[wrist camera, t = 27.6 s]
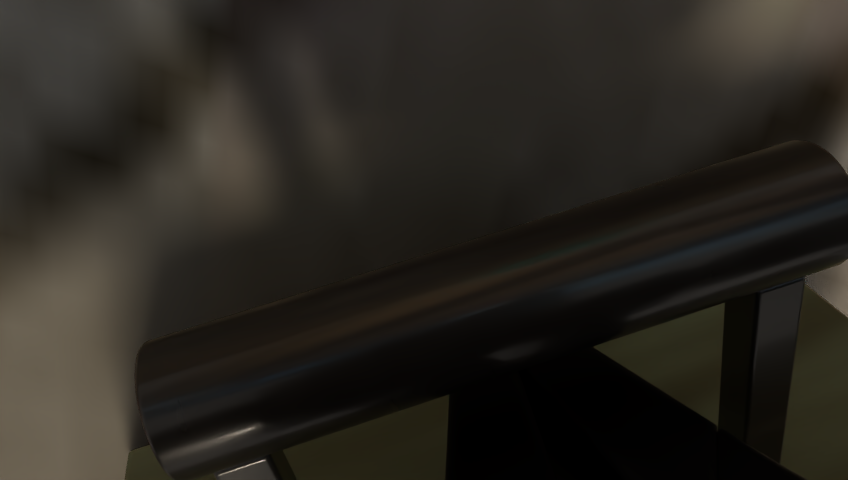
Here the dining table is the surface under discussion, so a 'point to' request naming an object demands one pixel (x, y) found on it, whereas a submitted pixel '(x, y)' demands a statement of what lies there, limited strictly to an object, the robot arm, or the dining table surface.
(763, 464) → the robot arm
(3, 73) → the dining table surface
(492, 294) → the drawer
